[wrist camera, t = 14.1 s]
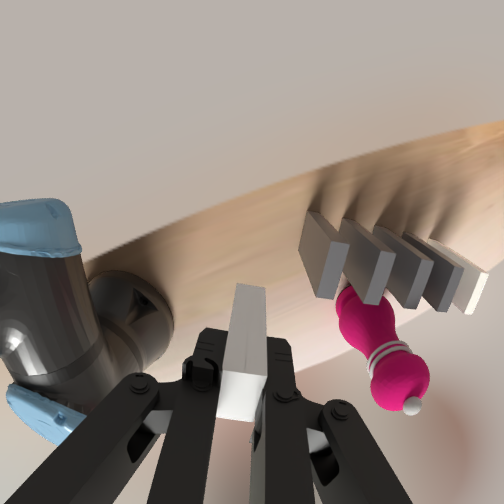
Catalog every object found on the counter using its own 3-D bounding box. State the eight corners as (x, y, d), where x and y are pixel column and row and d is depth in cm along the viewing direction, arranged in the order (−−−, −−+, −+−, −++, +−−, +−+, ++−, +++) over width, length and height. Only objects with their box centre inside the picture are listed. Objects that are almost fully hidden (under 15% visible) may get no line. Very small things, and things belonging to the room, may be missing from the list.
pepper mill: (384, 278, 36) (462, 375, 17) (375, 322, 38) (432, 426, 19) (334, 279, 36) (392, 392, 17) (329, 326, 38) (367, 443, 19)
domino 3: (364, 261, 35) (403, 308, 24) (374, 224, 33) (421, 259, 22) (374, 263, 35) (416, 309, 24) (385, 227, 33) (434, 261, 22)
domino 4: (392, 266, 35) (436, 311, 24) (403, 231, 33) (454, 266, 22) (401, 268, 35) (446, 312, 24) (412, 234, 34) (464, 268, 22)
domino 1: (298, 250, 35) (315, 297, 23) (307, 210, 33) (331, 240, 22) (310, 252, 35) (333, 299, 23) (319, 213, 33) (349, 244, 22)
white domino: (417, 271, 35) (463, 313, 24) (428, 238, 34) (481, 272, 22) (425, 273, 35) (472, 314, 24) (436, 240, 34) (488, 274, 22)
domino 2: (332, 256, 35) (363, 303, 24) (342, 217, 33) (380, 250, 22) (344, 258, 35) (378, 305, 24) (354, 220, 33) (396, 253, 22)
